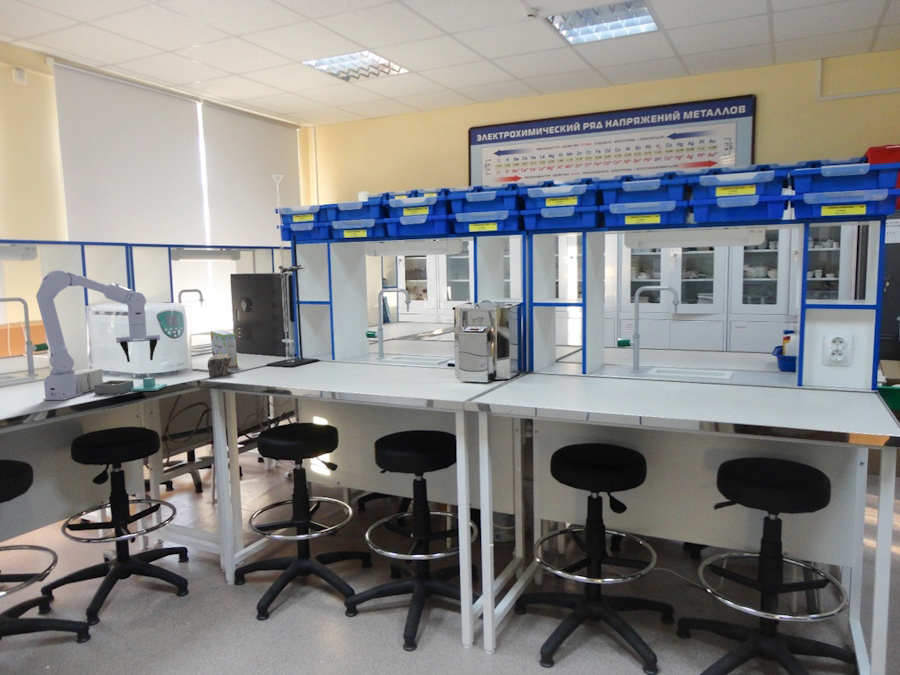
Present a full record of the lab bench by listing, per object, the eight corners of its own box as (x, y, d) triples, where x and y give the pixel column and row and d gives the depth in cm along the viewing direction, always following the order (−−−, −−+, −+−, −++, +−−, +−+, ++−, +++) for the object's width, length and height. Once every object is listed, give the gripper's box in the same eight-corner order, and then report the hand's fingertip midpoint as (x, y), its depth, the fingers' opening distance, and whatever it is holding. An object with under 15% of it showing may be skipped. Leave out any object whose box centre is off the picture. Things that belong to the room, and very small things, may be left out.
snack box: (211, 362, 297) (209, 330, 296) (223, 361, 301) (221, 329, 299) (225, 367, 280) (223, 334, 279) (238, 366, 284) (236, 333, 282)
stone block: (231, 376, 259) (230, 357, 258) (208, 377, 257) (207, 358, 256) (235, 370, 273) (234, 353, 272) (213, 371, 271) (212, 353, 270)
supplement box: (104, 387, 238) (79, 394, 226) (87, 387, 240) (61, 394, 227) (102, 368, 237) (77, 374, 225) (85, 368, 239) (59, 374, 226)
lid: (156, 392, 229) (155, 380, 228) (131, 392, 229) (130, 380, 228) (167, 387, 238) (166, 375, 237) (143, 387, 238) (142, 376, 237)
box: (119, 394, 224) (118, 385, 224) (95, 394, 225) (94, 385, 224) (133, 389, 233) (133, 380, 233) (110, 389, 234) (110, 380, 233)
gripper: (158, 322, 241) (160, 357, 243) (115, 324, 234) (117, 361, 236) (159, 323, 235) (162, 360, 237) (115, 326, 228) (118, 363, 230)
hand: (140, 360), depth 236 cm, fingers open, 7 cm apart
